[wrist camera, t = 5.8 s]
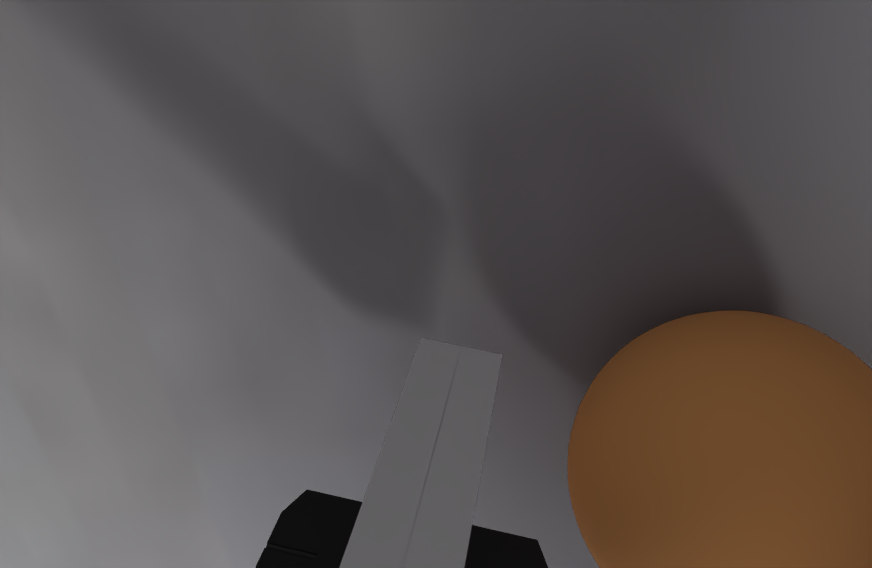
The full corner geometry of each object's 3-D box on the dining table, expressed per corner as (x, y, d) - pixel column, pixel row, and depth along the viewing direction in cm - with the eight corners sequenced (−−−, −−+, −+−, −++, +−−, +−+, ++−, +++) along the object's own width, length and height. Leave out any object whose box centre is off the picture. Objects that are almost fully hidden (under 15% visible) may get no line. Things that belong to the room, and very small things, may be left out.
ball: (620, 436, 9) (595, 231, 14) (540, 694, 12) (543, 451, 16) (1097, 515, 9) (903, 277, 13) (896, 760, 11) (795, 493, 16)
